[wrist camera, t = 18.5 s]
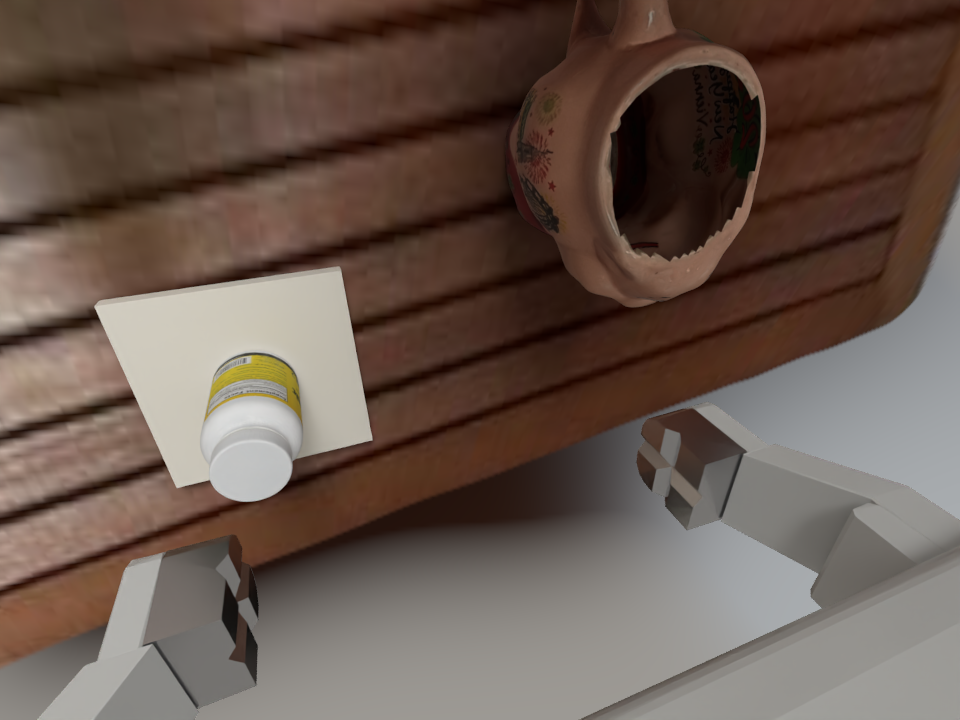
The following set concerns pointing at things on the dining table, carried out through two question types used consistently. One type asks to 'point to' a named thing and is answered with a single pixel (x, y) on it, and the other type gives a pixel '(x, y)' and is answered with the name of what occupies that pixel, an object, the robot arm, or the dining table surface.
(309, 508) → the dining table surface
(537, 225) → the decorative planter
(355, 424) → the tile
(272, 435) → the supplement bottle
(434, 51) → the dining table surface
